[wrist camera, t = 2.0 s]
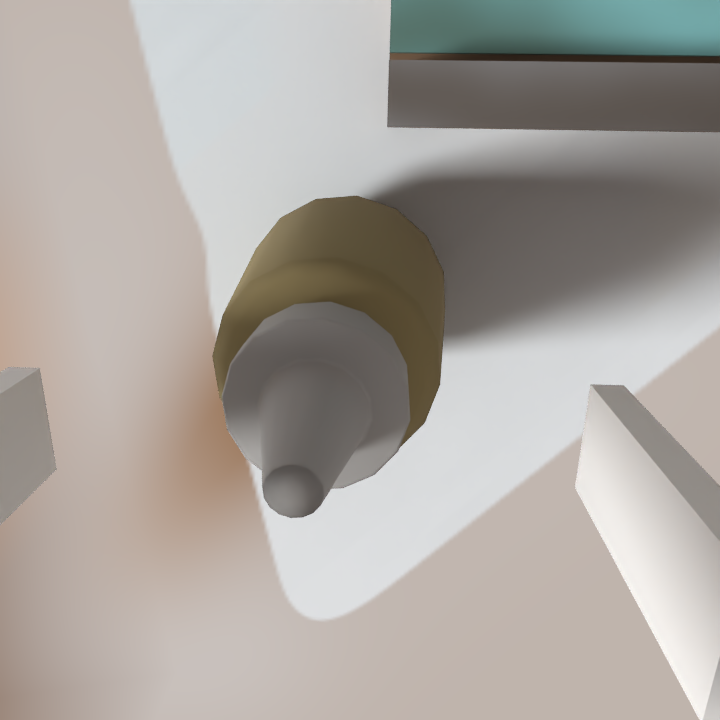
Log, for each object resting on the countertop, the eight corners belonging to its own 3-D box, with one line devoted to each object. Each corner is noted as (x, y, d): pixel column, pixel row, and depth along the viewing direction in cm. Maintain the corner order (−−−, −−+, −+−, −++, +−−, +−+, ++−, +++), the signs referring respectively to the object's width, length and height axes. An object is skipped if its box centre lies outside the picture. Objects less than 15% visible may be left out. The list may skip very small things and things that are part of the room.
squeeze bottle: (453, 199, 27) (555, 312, 10) (425, 370, 30) (468, 679, 13) (269, 175, 27) (69, 252, 10) (258, 349, 30) (88, 631, 13)
